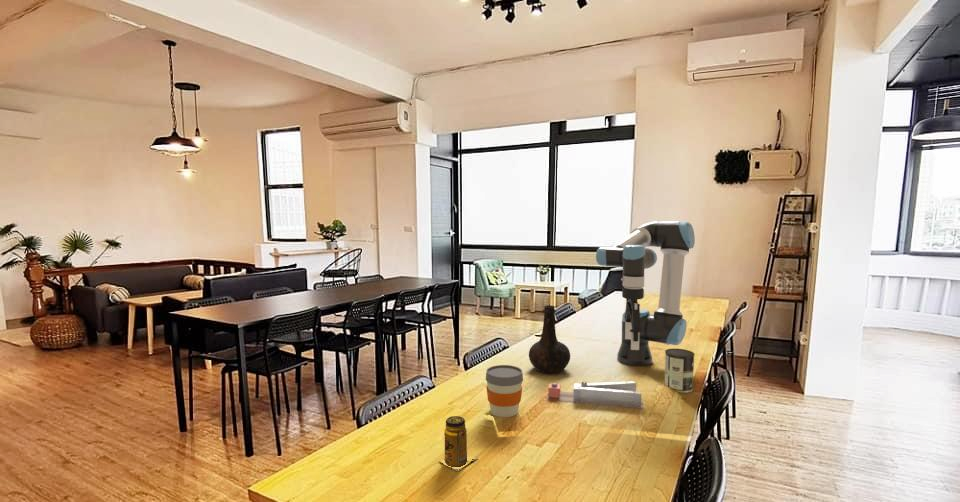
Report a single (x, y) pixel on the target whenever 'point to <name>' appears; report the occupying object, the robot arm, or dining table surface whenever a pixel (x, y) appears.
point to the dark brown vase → (549, 347)
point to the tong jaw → (613, 385)
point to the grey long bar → (606, 396)
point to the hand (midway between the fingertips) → (631, 344)
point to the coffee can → (679, 369)
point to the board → (569, 398)
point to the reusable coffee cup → (504, 389)
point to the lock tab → (554, 390)
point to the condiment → (456, 442)
